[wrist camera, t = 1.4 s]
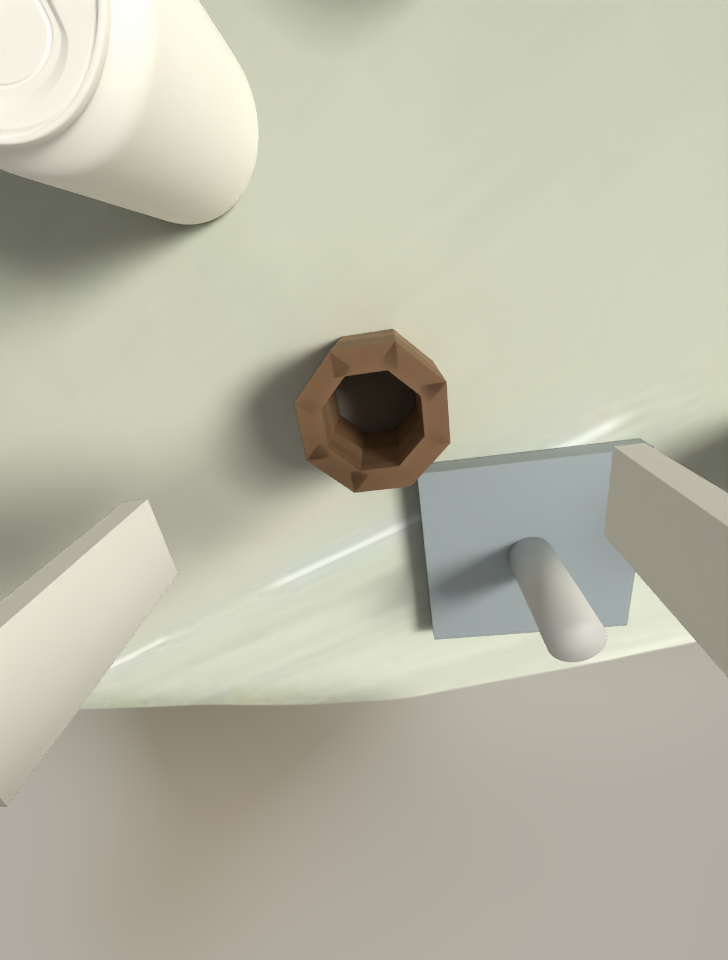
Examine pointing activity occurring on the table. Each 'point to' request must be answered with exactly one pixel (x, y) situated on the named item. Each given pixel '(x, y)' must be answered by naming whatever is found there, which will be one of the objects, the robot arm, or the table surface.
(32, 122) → the beverage can
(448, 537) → the post block
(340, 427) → the collar
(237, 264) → the table surface
